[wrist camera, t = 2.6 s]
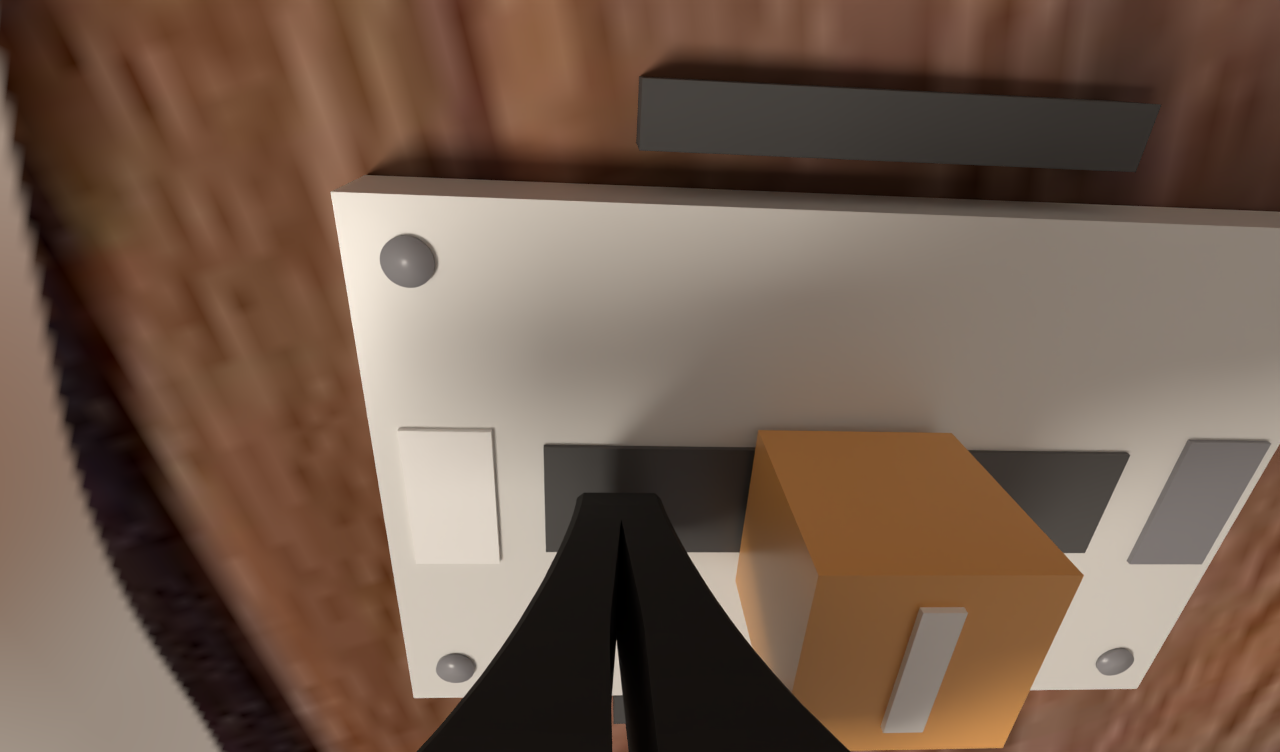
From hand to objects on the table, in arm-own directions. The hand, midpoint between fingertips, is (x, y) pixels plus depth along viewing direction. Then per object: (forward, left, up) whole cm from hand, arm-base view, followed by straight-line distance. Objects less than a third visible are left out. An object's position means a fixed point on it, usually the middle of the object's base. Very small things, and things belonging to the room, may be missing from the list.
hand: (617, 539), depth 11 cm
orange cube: (0, -4, -1) cm, 4 cm away
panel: (0, -4, -3) cm, 5 cm away
